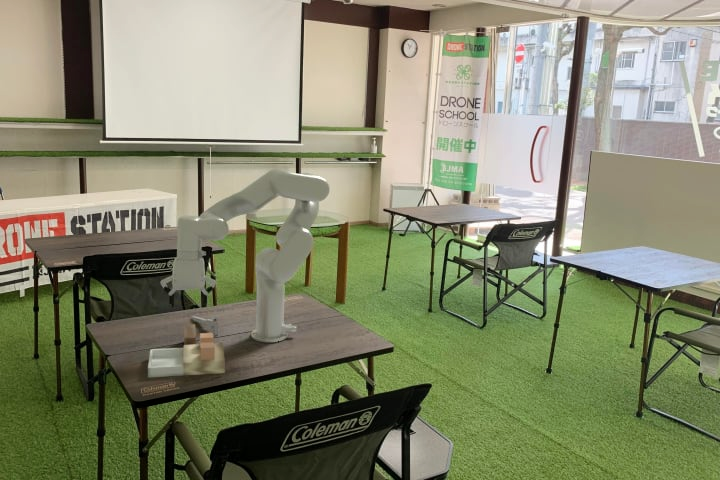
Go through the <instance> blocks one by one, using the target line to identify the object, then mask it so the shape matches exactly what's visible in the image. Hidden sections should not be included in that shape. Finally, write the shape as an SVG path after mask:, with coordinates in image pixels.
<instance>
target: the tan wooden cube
mask: <svg viewBox="0 0 720 480" xmlns="http://www.w3.org/2000/svg"><path fill="white" fill-rule="evenodd" d="M214 343H215V342H214V341H213V342H211V343H201V361H202V360H215V346H214Z"/></svg>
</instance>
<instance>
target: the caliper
mask: <svg viewBox="0 0 720 480" xmlns="http://www.w3.org/2000/svg"><path fill="white" fill-rule="evenodd" d="M190 319H191V320H192V321H194V322H196V323H200V324H203V325H206V327H207V328H210V330H211V333H213V335H214V336H218V335H219V324H218V321H217V318H216V317H212V318H207V319H206V318H203V317H198V316H192V317H190Z"/></svg>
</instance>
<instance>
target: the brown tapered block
mask: <svg viewBox="0 0 720 480" xmlns="http://www.w3.org/2000/svg"><path fill="white" fill-rule="evenodd" d="M183 327H184V328H183V330H184V332H183V335H184V339H183V341H184V342H183V343H184V345H190V344H197V334H196V324H184V326H183ZM184 345H183V346H184Z"/></svg>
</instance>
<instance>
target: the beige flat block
mask: <svg viewBox="0 0 720 480" xmlns="http://www.w3.org/2000/svg"><path fill="white" fill-rule="evenodd" d="M214 346H215V360H202V361H201V350H200V343H196V344H190V345H183V348H184V361H183V365H184V375H183V376H194V375H195V376H196V375H199V376H200V375H213V374H225V373H226V369H225V368H226V360H225V354H224V345H223V342H216V343H215V342H214Z"/></svg>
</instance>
